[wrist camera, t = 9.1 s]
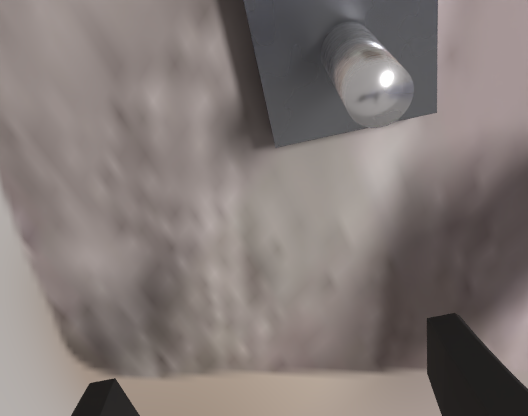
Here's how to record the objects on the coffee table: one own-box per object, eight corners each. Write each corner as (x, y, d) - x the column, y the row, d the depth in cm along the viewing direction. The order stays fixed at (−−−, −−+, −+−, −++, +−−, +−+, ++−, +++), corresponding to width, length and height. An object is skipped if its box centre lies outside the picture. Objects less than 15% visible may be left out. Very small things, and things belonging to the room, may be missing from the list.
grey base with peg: (426, -78, 15) (505, -59, 11) (427, 102, 18) (486, 168, 14) (236, -32, 15) (242, 3, 11) (273, 135, 18) (287, 209, 14)
